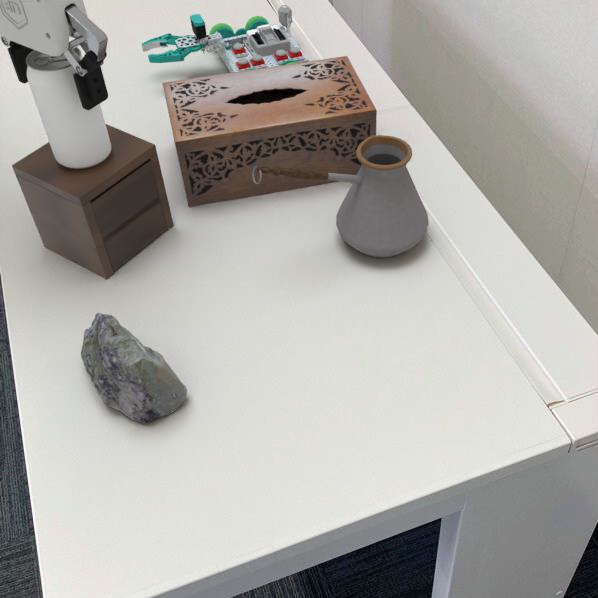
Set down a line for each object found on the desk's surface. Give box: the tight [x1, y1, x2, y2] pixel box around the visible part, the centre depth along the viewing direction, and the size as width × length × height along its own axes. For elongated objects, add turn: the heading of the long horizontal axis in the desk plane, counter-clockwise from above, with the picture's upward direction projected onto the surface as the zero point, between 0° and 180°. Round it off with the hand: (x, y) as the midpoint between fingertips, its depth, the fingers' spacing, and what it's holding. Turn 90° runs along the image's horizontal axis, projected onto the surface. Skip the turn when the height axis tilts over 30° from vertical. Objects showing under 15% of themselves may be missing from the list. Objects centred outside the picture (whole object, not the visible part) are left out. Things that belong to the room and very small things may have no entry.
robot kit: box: [141, 4, 310, 73], centre depth 121 cm, size 19×25×9 cm
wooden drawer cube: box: [11, 123, 175, 280], centre depth 94 cm, size 11×12×12 cm
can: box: [26, 47, 111, 169], centre depth 85 cm, size 6×6×12 cm
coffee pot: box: [252, 134, 430, 258], centre depth 91 cm, size 21×12×15 cm, turn 113°
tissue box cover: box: [162, 55, 378, 208], centre depth 105 cm, size 26×14×10 cm, turn 105°
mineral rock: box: [80, 312, 188, 425], centre depth 79 cm, size 13×11×10 cm
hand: (63, 90), depth 83 cm, fingers open, 9 cm apart
